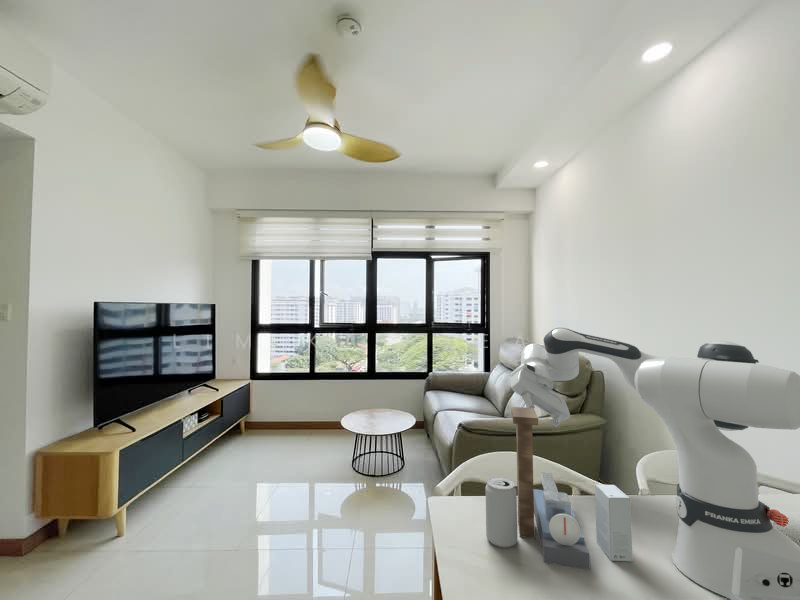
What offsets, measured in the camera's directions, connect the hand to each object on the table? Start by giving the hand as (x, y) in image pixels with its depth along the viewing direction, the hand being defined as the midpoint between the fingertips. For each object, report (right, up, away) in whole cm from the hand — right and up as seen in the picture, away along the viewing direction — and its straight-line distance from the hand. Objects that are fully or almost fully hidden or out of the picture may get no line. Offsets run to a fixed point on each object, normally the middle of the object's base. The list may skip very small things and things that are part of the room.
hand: (543, 416), depth 102 cm
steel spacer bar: (-5, -14, -17) cm, 23 cm away
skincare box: (+2, -18, -30) cm, 35 cm away
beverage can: (-20, -18, -27) cm, 37 cm away
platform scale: (-7, -18, -24) cm, 30 cm away
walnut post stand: (-13, -18, -24) cm, 32 cm away
